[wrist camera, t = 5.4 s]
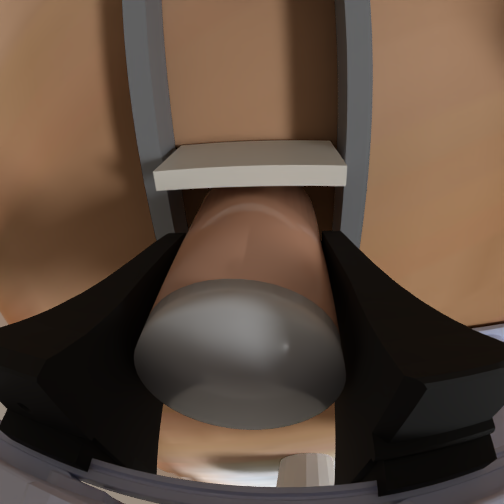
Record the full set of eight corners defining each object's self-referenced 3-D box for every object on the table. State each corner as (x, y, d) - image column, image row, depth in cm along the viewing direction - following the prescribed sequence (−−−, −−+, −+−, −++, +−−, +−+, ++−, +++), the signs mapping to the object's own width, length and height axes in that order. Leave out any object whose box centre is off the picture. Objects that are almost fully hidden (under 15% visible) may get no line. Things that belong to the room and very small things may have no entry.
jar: (308, 273, 13) (322, 432, 7) (203, 267, 13) (157, 418, 7) (321, 172, 11) (373, 315, 5) (196, 166, 11) (108, 297, 5)
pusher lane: (343, 287, 14) (350, 317, 13) (182, 286, 15) (172, 315, 13) (350, -57, 6) (364, -76, 5) (139, -41, 7) (116, -55, 5)
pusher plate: (329, 156, 11) (345, 186, 8) (183, 160, 11) (156, 190, 9) (329, 140, 11) (347, 165, 8) (181, 145, 11) (153, 171, 9)
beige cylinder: (266, 467, 29) (262, 521, 23) (286, 448, 26) (284, 514, 20) (322, 470, 30) (323, 522, 24) (350, 451, 26) (353, 512, 20)
